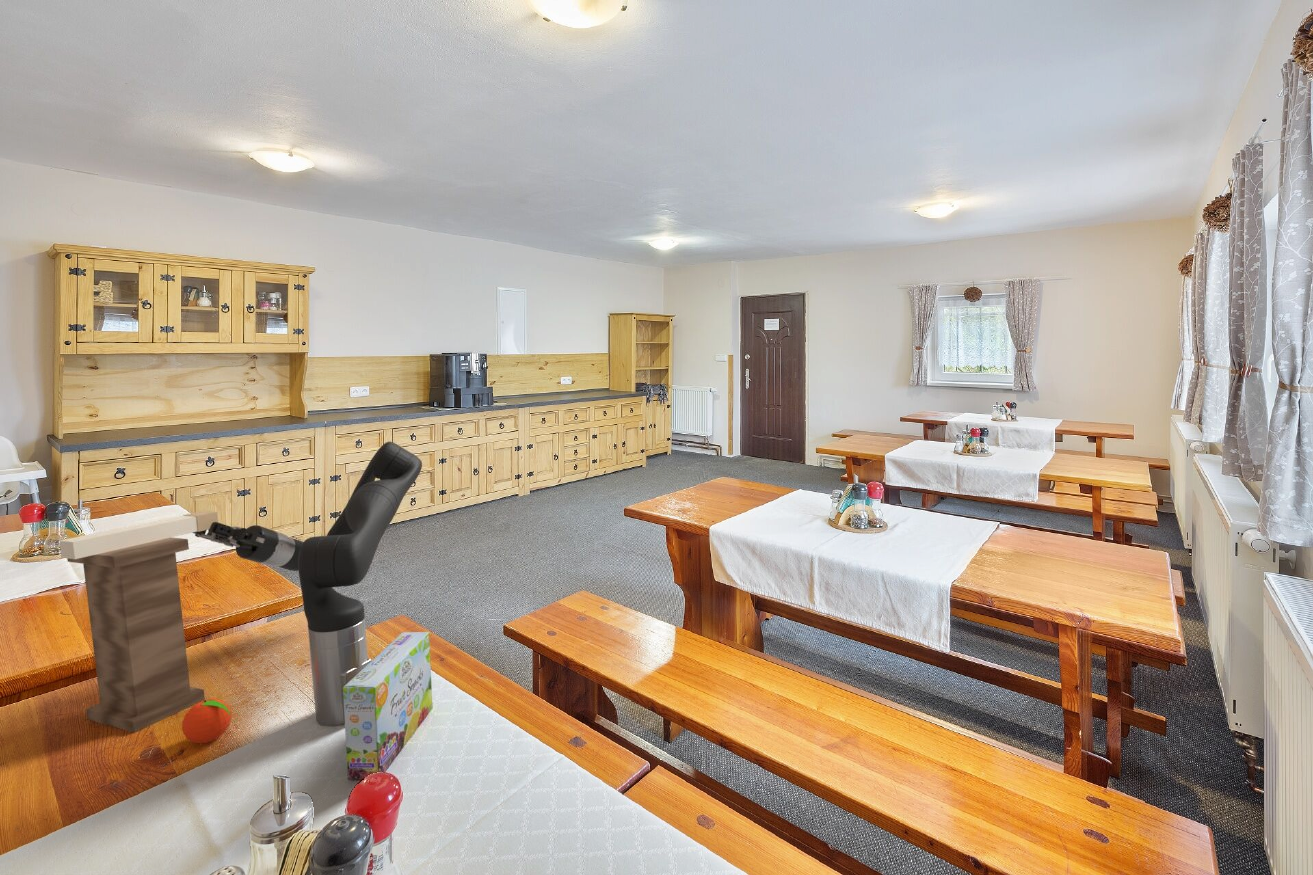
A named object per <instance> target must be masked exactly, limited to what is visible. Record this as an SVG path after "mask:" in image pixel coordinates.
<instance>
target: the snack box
mask: <svg viewBox="0 0 1313 875" xmlns="http://www.w3.org/2000/svg"><path fill="white" fill-rule="evenodd" d="M430 640H431V639H430V631H417V632H416V631H414V632H413V631H412V632H407V631H406V632H401V633H400V634H399V635H398V636H397V637H396V638H395V639H394V640H393V641H392V642H390V643H389V644H388V645H387V646H386V647H385V648H384V649H383V650H382V651H381V652H380V653H379V654H378V655H376V656H375V657H374V658H373V659H371V660H372V661H371V662H370V663H369V664H368V665H367V666H366V667H365V668H364V669H363V670H361V671H360V672H359V673H358V674H357V675H356V676H355V677H354V678H353V679H352V680H351V681H350V682H348V683H347V684H346V685H345V686H344V687H343V698H344V716H345V724H344V728H345V730H344V731H345V746H346V748H345V750H346V764H347V767H346V768H347V780H359V781H361V780H362V779H364V778H365V777H367V776H368V775H370V774H373V773H377V772H387V770H388V769H389V767H390V766H391V764H392V763H393V762H394V761H395V759H396V758H397V757H398V755H399V754H400V752H401V751H402V750H403V748H404V747H405V746H406V745H407V743H408V742H409V741H410V739H411V738H412V736H413V735H414V733H416V731H417V729H418V728H419V727H420V726H421V725H422V724H423V722H424V721H425V719H426V718H427V717H428V715H429V714H430V713H431V712H432V710H433V707H434V705H433V688H432V668H431V648H430V647H431V643H430Z"/></svg>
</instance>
